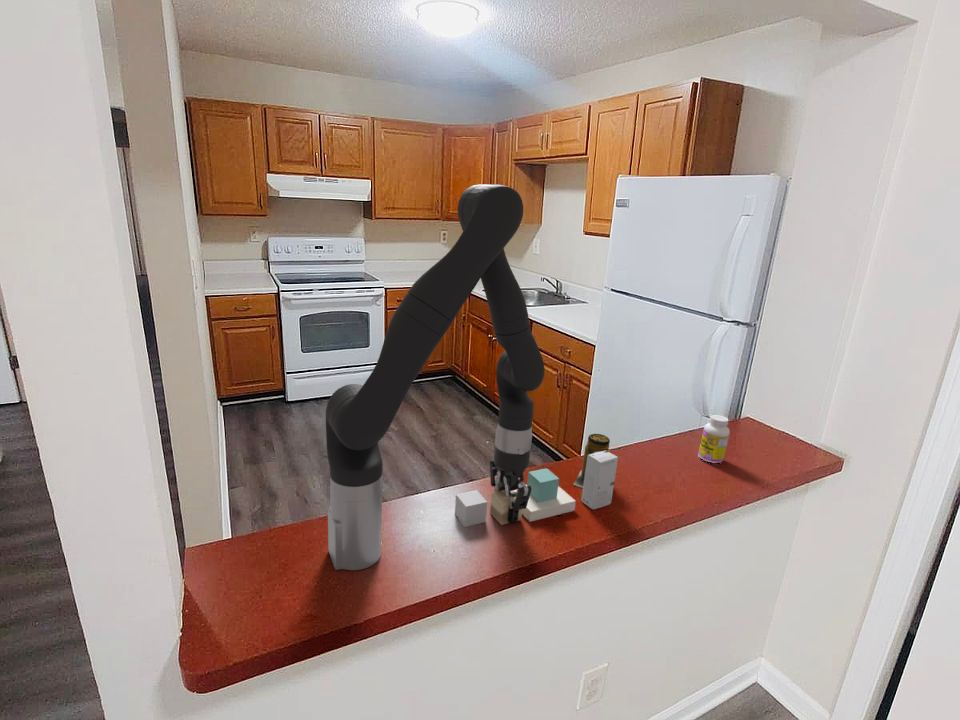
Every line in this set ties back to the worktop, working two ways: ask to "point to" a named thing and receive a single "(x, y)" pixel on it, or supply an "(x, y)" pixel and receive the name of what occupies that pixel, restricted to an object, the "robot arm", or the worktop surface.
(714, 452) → the supplement bottle
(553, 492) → the teal block
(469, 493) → the grey block
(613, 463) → the skincare box
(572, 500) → the baseplate
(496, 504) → the maple block
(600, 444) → the condiment
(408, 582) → the worktop surface
